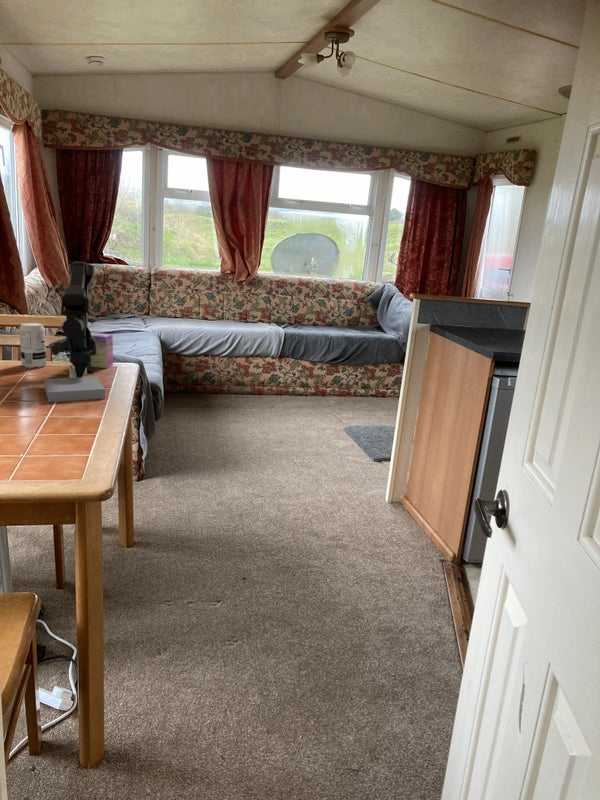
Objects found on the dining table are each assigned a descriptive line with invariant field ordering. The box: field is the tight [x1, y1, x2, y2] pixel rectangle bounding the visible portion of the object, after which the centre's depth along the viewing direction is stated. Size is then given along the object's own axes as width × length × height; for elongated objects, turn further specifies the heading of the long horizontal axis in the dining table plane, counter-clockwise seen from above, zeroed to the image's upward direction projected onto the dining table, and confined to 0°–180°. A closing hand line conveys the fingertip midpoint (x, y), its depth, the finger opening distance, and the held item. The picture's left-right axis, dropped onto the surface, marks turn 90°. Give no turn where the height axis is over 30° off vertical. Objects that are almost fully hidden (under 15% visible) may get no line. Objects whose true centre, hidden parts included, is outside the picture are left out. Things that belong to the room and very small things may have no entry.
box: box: [90, 332, 114, 369], centre depth 222 cm, size 10×6×12 cm, turn 84°
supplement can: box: [18, 322, 48, 369], centre depth 216 cm, size 8×8×15 cm
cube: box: [68, 364, 88, 378], centre depth 201 cm, size 5×5×5 cm
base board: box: [43, 375, 106, 403], centre depth 188 cm, size 16×16×3 cm
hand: (78, 377), depth 202 cm, fingers closed on cube, 5 cm apart
